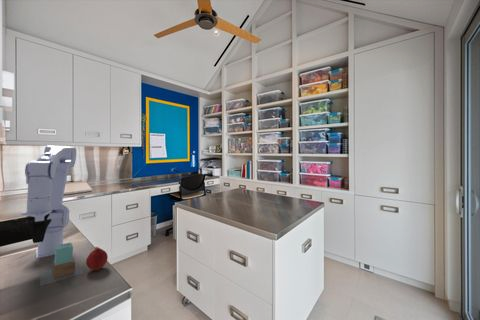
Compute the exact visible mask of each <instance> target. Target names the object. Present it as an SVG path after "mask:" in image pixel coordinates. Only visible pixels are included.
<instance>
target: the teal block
mask: <svg viewBox="0 0 480 320" xmlns="http://www.w3.org/2000/svg"><path fill="white" fill-rule="evenodd" d="M73 248H74V245H73V243H72V242H67V243H63V244H61V245H56V246H55V254H54V261H55V265H56V266H57V265H61V264H65V263H69V262H72V256H73V253H74V252H73Z"/></svg>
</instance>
